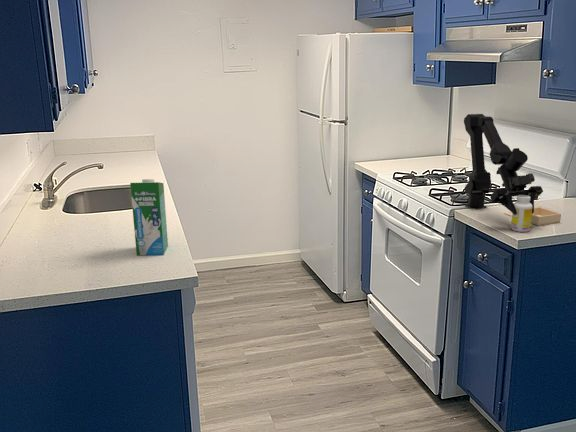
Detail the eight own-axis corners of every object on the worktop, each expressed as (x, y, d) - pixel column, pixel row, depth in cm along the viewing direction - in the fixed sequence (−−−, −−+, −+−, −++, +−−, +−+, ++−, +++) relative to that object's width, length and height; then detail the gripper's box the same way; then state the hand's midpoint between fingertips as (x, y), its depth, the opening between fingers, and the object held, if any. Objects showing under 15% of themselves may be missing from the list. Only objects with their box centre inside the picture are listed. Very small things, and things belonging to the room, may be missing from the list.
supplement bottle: (531, 228, 218) (535, 195, 214) (528, 233, 212) (532, 199, 209) (512, 226, 221) (515, 193, 217) (509, 230, 216) (512, 197, 212)
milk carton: (168, 246, 204) (163, 176, 197) (163, 255, 195) (158, 182, 188) (142, 246, 203) (136, 176, 196) (136, 255, 195) (130, 182, 188)
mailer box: (503, 213, 237) (504, 205, 236) (525, 210, 241) (525, 202, 240) (538, 225, 221) (539, 217, 220) (560, 222, 225) (561, 213, 224)
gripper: (497, 167, 212) (511, 204, 205) (543, 164, 216) (558, 200, 208) (484, 183, 222) (497, 219, 214) (528, 180, 225) (542, 216, 218)
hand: (524, 213), depth 214 cm, fingers closed on supplement bottle, 7 cm apart
